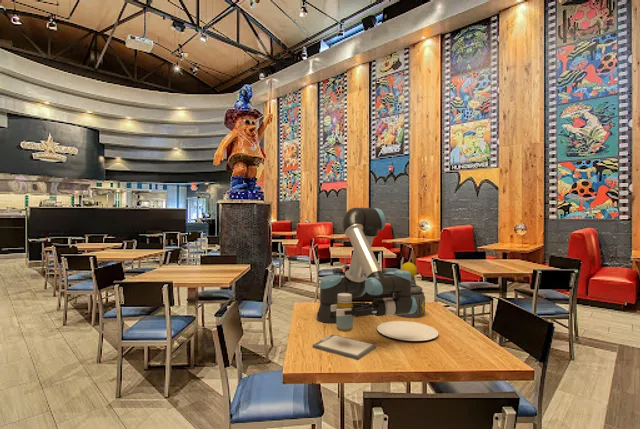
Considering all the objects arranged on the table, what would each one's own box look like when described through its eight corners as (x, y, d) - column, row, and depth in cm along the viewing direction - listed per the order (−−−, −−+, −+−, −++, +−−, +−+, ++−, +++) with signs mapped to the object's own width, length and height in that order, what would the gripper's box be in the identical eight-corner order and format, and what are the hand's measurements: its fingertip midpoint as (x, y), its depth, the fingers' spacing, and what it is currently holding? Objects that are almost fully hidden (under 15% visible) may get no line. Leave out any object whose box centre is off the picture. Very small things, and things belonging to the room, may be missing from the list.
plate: (388, 320, 188) (388, 317, 188) (444, 330, 173) (444, 326, 173) (367, 336, 163) (367, 332, 163) (430, 348, 148) (430, 344, 148)
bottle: (335, 327, 151) (335, 292, 151) (351, 326, 151) (351, 292, 152) (337, 332, 144) (337, 296, 144) (354, 332, 145) (354, 296, 145)
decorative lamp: (402, 307, 214) (402, 259, 214) (431, 313, 201) (431, 262, 201) (385, 313, 201) (386, 262, 201) (415, 320, 187) (415, 265, 188)
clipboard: (312, 347, 147) (312, 342, 147) (332, 336, 161) (332, 332, 161) (358, 360, 135) (358, 354, 135) (375, 347, 148) (375, 342, 148)
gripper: (393, 322, 143) (341, 326, 137) (373, 309, 162) (326, 313, 156) (393, 304, 143) (341, 307, 137) (373, 293, 162) (327, 296, 156)
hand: (333, 310), depth 146 cm, fingers closed on bottle, 7 cm apart
